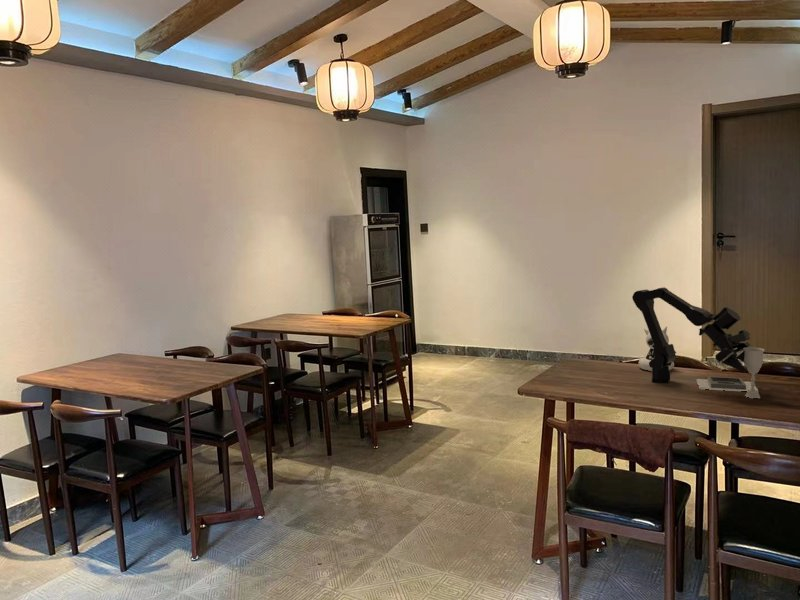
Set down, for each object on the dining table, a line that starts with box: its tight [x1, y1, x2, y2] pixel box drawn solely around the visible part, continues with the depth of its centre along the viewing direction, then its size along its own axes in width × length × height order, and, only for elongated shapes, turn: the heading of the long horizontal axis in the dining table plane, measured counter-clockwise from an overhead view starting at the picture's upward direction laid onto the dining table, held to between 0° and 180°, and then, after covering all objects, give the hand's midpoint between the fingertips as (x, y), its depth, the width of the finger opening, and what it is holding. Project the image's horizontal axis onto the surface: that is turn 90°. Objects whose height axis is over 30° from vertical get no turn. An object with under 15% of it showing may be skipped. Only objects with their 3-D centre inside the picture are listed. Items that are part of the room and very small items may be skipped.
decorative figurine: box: [638, 326, 675, 372], centre depth 269 cm, size 15×15×20 cm
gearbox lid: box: [696, 375, 759, 392], centre depth 237 cm, size 20×14×2 cm
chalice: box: [743, 346, 765, 399], centre depth 221 cm, size 7×7×18 cm
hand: (750, 369), depth 221 cm, fingers open, 9 cm apart
